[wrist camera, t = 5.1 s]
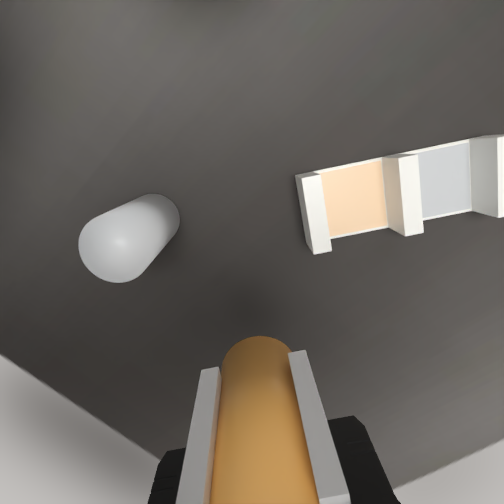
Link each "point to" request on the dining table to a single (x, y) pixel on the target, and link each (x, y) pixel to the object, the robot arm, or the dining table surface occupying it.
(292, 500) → the orange plug
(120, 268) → the grey plug
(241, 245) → the dining table surface
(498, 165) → the rack
